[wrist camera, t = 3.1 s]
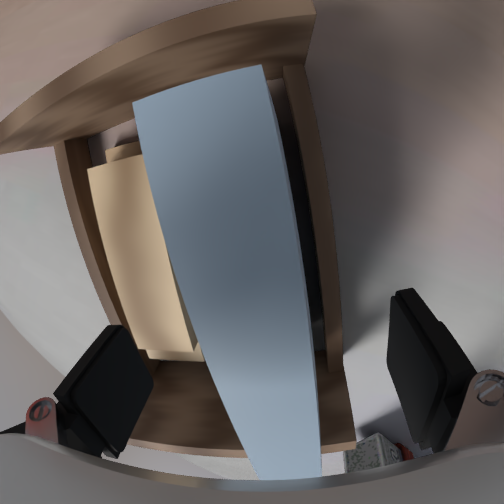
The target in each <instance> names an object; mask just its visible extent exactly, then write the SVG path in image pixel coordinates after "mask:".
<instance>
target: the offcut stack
mask: <svg viewBox="0 0 504 504" xmlns="http://www.w3.org/2000/svg"><path fill="white" fill-rule="evenodd" d="M105 153H106V160H107V163H106V164H103V165H99V166H96V167H93V168H89V169H87V171H88V177H89V182H90V188H91V193H92V198H93V203H94V208H95V212H96V217H97V221H98V225H99V230H100V234H101V238H102V241H103V245H104V249H105V253H106V256H107V260H108V263H109V267H110V270H111V273H112V277H113V280H114V283H115V286H116V289H117V292H118V296H119V298H120V301H121V304H122V307H123V310H124V313H125V316H126V318H127V321H128V324H129V327H130V329H131V332H132V334H133V337H134V339H135V342H136V344H137V347H138V349H146V351H147V354H148V356H149V358H150V359H163V360H178V361H200V362H204V361H205V358H204V355H203V353H202V350H201V347H200V345H199V342H198V339H197V337H196V334H195V331H194V329H193V326H192V323H191V320H190V317H189V315H188V312H187V309H186V306H185V303H184V300H183V297H182V294H181V291H180V288H179V285H178V282H177V279H176V276H175V273H174V270H173V266H172V263H171V260H170V257H169V253H168V250H167V247H166V243H165V240H164V236H163V233H162V229H161V226H160V222H159V219H158V215H157V211H156V208H155V204H154V200H153V196H152V192H151V188H150V184H149V180H148V176H147V172H146V167H145V163H144V159H143V154H142V150H141V145H140V140H139V141H136V142H132V143H128V144H125V145H121V146H118V147H114V148H111V149H107V150H105Z"/></svg>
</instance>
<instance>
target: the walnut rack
mask: <svg viewBox="0 0 504 504" xmlns="http://www.w3.org/2000/svg"><path fill="white" fill-rule="evenodd" d="M316 15H317V13H316V10H315V8H314V5H313V2H312V0H238V1H233V2H229V3H225V4H221V5H217V6H213V7H209V8H206V9H202V10H199V11H196V12H192V13H189V14H186V15H183V16H180V17H177V18H174V19H172V20H169V21H166V22H164V23H161V24H158V25H156V26H153V27H151V28H148V29H146V30H144V31H141V32H139V33H137V34H135V35H132V36H130V37H128V38H126V39H124V40H122V41H120V42H118V43H116V44H114V45H112V46H110V47H108V48H106V49H104V50H102V51H100V52H98V53H97V54H95V55H93V56H91V57H89V58H88V59H86V60H84V61H83V62H81V63H79V64H78V65H76V66H74V67H73V68H71V69H70V70H68V71H66V72H65V73H63V74H62V75H60V76H59V77H57V78H56V79H54V80H53V81H52V82H50V83H49V84H47V85H46V86H44V87H43V88H42V89H40V90H39V91H38V92H36V93H35V94H34V95H32V96H31V97H30V98H29V99H27V100H26V101H25V102H24V103H22V104H21V105H20V106H19V107H17V108H16V109H15V110H14V111H13V112H12V113H10V114H9V115H8V116H7V117H6V118H5V119H4V120H3V121H1V122H0V154H5V153H11V152H16V151H22V150H29V149H35V148H43V147H50V146H54V149H55V155H56V160H57V165H58V170H59V174H60V179H61V183H62V187H63V191H64V195H65V199H66V203H67V207H68V210H69V214H70V217H71V221H72V224H73V227H74V231H75V234H76V237H77V240H78V243H79V246H80V249H81V252H82V255H83V258H84V260H85V263H86V266H87V269H88V271H89V274H90V277H91V279H92V282H93V284H94V287H95V289H96V292H97V294H98V297H99V299H100V301H101V304H102V306H103V308H104V310H105V313H106V315H107V317H108V319H109V322H110V324H111V325H123V326H124V327H125V328H126V329H127V330H128V331H129V333H130V335H131V337H132V339H133V342H134V344H135V346H136V348H137V350H138V352H139V354H140V356H141V358H142V360H143V361H144V363H145V365H146V367H147V369H148V371H149V373H150V375H151V377H152V378H153V381H154V387H153V389H152V391H151V393H150V396H149V398H148V400H147V402H146V404H145V406H144V408H143V410H142V412H141V414H140V417H139V419H138V421H137V423H136V425H135V427H134V429H133V431H132V434H131V436H130V438H129V440H128V442H127V444H128V445H133V446H138V447H143V448H148V449H154V450H160V451H167V452H174V453H182V454H191V455H201V456H214V457H236V458H248V456H247V454H246V452H245V450H244V448H243V446H242V444H241V442H240V439H239V437H238V435H237V433H236V431H235V429H234V427H233V424H232V422H231V420H230V418H229V415H228V413H227V411H226V409H225V406H224V404H223V402H222V399H221V397H220V395H219V392H218V390H217V388H216V385H215V383H214V380H213V378H212V375H211V373H210V371H209V368H208V366H207V363H206V361H204V362H200V361H160V359H150V358H149V356H148V354H147V351H146V349H138V347H137V344H136V342H135V339H134V337H133V334H132V332H131V329H130V327H129V324H128V321H127V318H126V316H125V313H124V310H123V307H122V304H121V301H120V298H119V296H118V292H117V289H116V286H115V283H114V280H113V277H112V273H111V270H110V267H109V263H108V260H107V256H106V253H105V249H104V245H103V241H102V238H101V234H100V230H99V225H98V221H97V217H96V212H95V208H94V203H93V198H92V193H91V188H90V182H89V177H88V171H87V169H89V168H93V167H92V162H91V158H90V153H89V148H88V143H87V138H89V137H91V136H94V135H96V134H98V133H100V132H102V131H105V130H107V129H109V128H111V127H114V126H116V125H119V124H121V123H123V122H126V121H128V120H131V119H133V118H135V115H134V110H133V105H132V103H133V102H135V101H138V100H140V99H143V98H145V97H148V96H151V95H153V94H156V93H159V92H162V91H164V90H167V89H170V88H173V87H176V86H179V85H182V84H185V83H189V82H192V81H195V80H199V79H202V78H206V77H209V76H213V75H217V74H221V73H225V72H229V71H233V70H237V69H242V68H246V67H251V66H256V65H262V68H263V71H264V75H265V78H266V81H267V80H273V79H278V78H284V83H285V87H286V91H287V96H288V100H289V105H290V109H291V114H292V119H293V123H294V128H295V133H296V138H297V143H298V149H299V154H300V159H301V165H302V170H303V176H304V182H305V187H306V193H307V200H308V206H309V212H310V219H311V226H312V232H313V240H314V247H315V254H316V262H317V270H318V279H319V288H320V297H321V306H322V317H323V327H324V339H325V350H321V351H314V357H315V368H316V380H317V393H318V406H319V422H320V440H321V454H324V453H332V452H339V451H346V450H352V449H355V448H356V434H355V427H354V421H353V415H352V409H351V403H350V398H349V392H348V387H347V381H346V376H345V371H344V366H343V341H342V318H341V301H340V287H339V275H338V264H337V253H336V244H335V235H334V226H333V218H332V210H331V203H330V196H329V189H328V183H327V176H326V170H325V164H324V158H323V152H322V147H321V141H320V136H319V131H318V126H317V121H316V116H315V111H314V107H313V102H312V98H311V93H310V89H309V85H308V80H307V76H306V72H305V68H304V65H305V61H306V57H307V53H308V49H309V44H310V40H311V36H312V32H313V28H314V23H315V19H316Z"/></svg>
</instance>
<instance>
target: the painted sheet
mask: <svg viewBox="0 0 504 504" xmlns="http://www.w3.org/2000/svg"><path fill="white" fill-rule="evenodd" d="M132 105H133V110H134V115H135V121H136V126H137V131H138V136H139V140H140V145H141V150H142V154H143V159H144V163H145V167H146V172H147V176H148V180H149V184H150V188H151V192H152V196H153V200H154V204H155V208H156V211H157V215H158V219H159V222H160V226H161V229H162V233H163V236H164V240H165V243H166V247H167V250H168V253H169V257H170V260H171V263H172V266H173V270H174V273H175V276H176V279H177V282H178V285H179V288H180V291H181V294H182V297H183V300H184V303H185V306H186V309H187V312H188V315H189V317H190V320H191V323H192V326H193V329H194V331H195V334H196V337H197V339H198V342H199V345H200V347H201V350H202V353H203V355H204V358H205V360H206V363H207V366H208V368H209V371H210V373H211V375H212V378H213V380H214V383H215V385H216V388H217V390H218V392H219V395H220V397H221V399H222V402H223V404H224V406H225V409H226V411H227V413H228V415H229V418H230V420H231V422H232V424H233V427H234V429H235V431H236V433H237V435H238V437H239V439H240V442H241V444H242V446H243V448H244V450H245V452H246V454H247V456H248V458H249V460H250V462H251V464H252V466H253V468H254V470H255V472H256V474H257V476H258V478H259V480H287V479H302V478H313V477H322V463H321V440H320V422H319V406H318V393H317V380H316V368H315V357H314V347H313V337H312V327H311V319H310V310H309V303H308V295H307V287H306V280H305V273H304V266H303V259H302V252H301V246H300V239H299V233H298V227H297V221H296V214H295V209H294V203H293V197H292V191H291V186H290V180H289V175H288V169H287V164H286V159H285V154H284V149H283V144H282V139H281V134H280V129H279V124H278V120H277V116H276V112H275V109H274V105H273V102H272V98H271V95H270V91H269V88H268V85H267V81H266V78H265V75H264V71H263V68H262V65H256V66H251V67H246V68H242V69H237V70H233V71H229V72H225V73H221V74H217V75H213V76H209V77H206V78H202V79H199V80H195V81H192V82H189V83H185V84H182V85H179V86H176V87H173V88H170V89H167V90H164V91H162V92H159V93H156V94H153V95H151V96H148V97H145V98H143V99H140V100H138V101H135V102H133V103H132Z"/></svg>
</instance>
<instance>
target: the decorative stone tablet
mask: <svg viewBox="0 0 504 504" xmlns="http://www.w3.org/2000/svg"><path fill="white" fill-rule="evenodd" d="M343 457H344V468H345V473H351V472H357V471H362V470H368V469H373V468H378V467H382V466H387V465H391V464H395V463H399V462H403V461H407V460H411V459H414V457H413V453H412V452H411V451H409V450H408V449H407V448H406V447H404V446H403V445H401V444H399V443H396V444H394V445H393V444H392V443H391V442H390V441H389V440H388V439H386V438H385V437H384V436H383V435H382V434H380V433H376V434H374V435H372V436H370V437H368V438H366V439H364V440H362V441H359V442H357V443H356V448H355V449H352V450H346V451H344V452H343Z"/></svg>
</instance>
